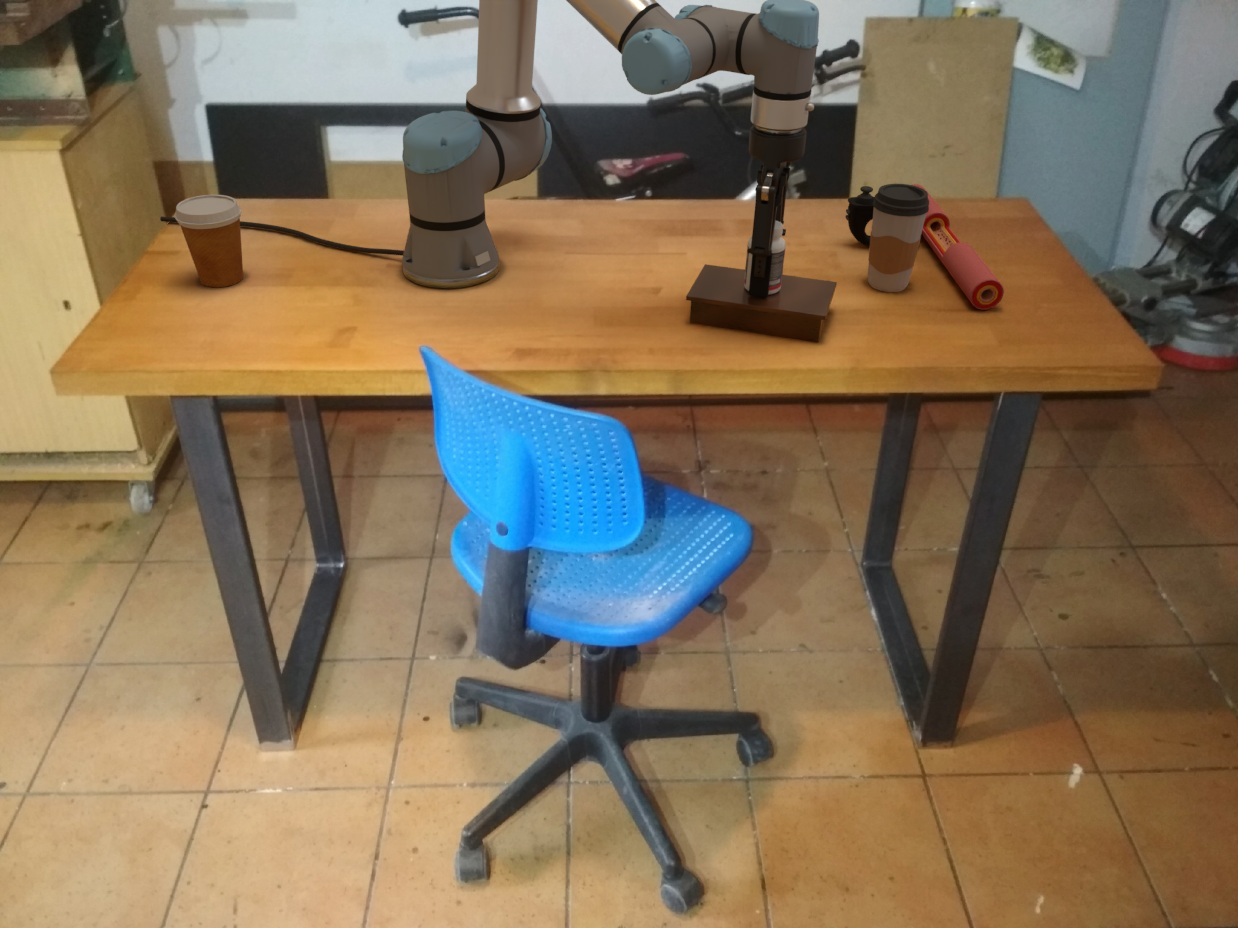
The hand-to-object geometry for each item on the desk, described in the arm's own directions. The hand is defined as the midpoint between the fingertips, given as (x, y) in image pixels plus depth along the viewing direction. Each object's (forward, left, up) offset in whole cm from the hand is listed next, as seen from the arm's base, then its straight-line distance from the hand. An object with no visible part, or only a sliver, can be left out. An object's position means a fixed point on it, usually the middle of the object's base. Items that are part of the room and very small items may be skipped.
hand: (762, 286), depth 155 cm
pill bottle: (0, 0, -1) cm, 1 cm away
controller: (+14, +34, -5) cm, 37 cm away
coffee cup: (+17, +18, -5) cm, 25 cm away
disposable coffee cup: (-82, -14, -5) cm, 83 cm away
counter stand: (0, 0, -5) cm, 5 cm away
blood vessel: (+25, +33, -5) cm, 42 cm away
